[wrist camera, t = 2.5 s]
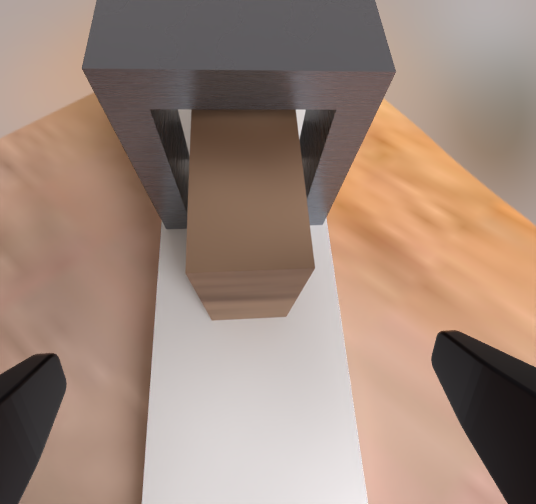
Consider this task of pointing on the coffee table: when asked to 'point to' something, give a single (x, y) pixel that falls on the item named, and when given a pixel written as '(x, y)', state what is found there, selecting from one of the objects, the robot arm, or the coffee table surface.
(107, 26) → the tunnel
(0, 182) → the coffee table surface
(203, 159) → the walnut bar
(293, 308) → the plate
